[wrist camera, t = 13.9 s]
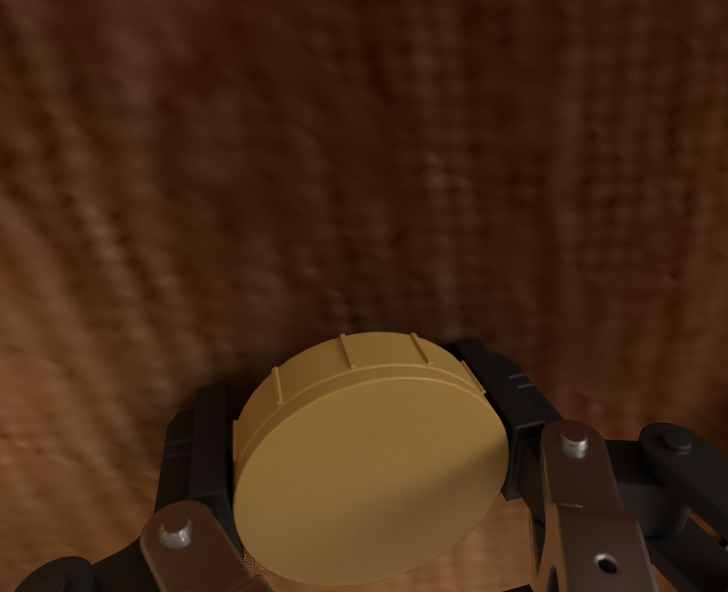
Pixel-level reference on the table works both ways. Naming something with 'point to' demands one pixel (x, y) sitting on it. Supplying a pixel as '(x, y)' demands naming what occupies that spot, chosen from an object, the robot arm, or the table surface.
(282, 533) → the lid
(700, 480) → the robot arm
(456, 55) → the table surface
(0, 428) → the table surface
